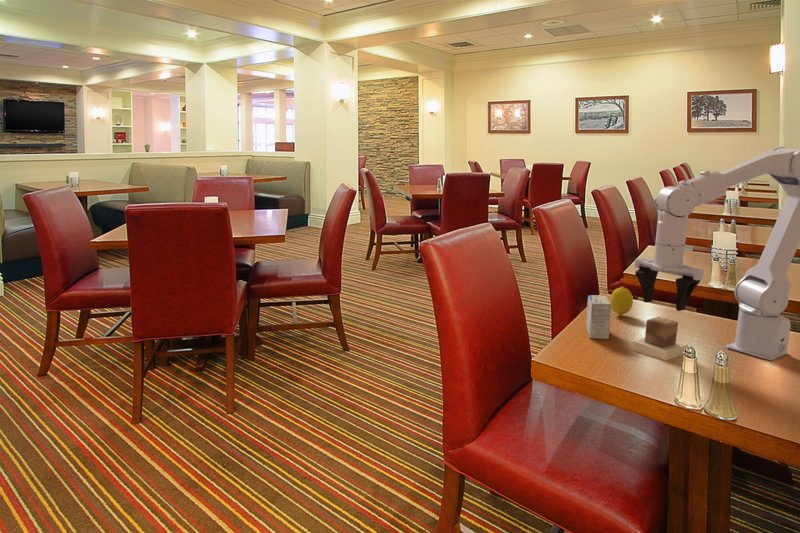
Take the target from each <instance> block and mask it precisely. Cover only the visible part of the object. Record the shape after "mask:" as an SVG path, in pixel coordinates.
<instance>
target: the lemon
mask: <svg viewBox="0 0 800 533" xmlns="http://www.w3.org/2000/svg"><path fill="white" fill-rule="evenodd" d="M609 302H610V304H611V311H613V312H614V313H616V314H617V315H618V316H619V317H622V316H623V315H624V314H627V313H629V312H630V310H631V309H632V307H633V302H634V299H633V295H632V292H631V291H630V290H629V289H628V288H625V286H620V287H618V288H615V289H614V290H613V291H612V293H611V295H610V300H609Z"/></svg>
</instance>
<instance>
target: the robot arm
mask: <svg viewBox="0 0 800 533" xmlns="http://www.w3.org/2000/svg"><path fill="white" fill-rule="evenodd" d="M699 174H700V175H698V176H695V177H693V178H691V179H688V180H681V181H678V185H677V186H672V185H670V186H665V187H663V188H662V189H661V190H660V192H658V193H657V194H656V198H654V199H653V205H654V207H655V209H656V211H657V224H656V235H655V244H654V252H653V253H654V254H653V255H654V256H653V259H647V258H642V257H640V258H635V259H634V268H637V269H638V270H635V271H634V272H635V276H636V277H637V281H638V283H639V285H640V288H641V292H642V297H643V298H642V299H643V302H644V303H650V302H652V301H653V299H654V294H655V293H654V290H655V289H654V288H655V284H656V280H657V276H658V274H659V273H664V274H668V275H674V276H677V277H678V278H675V284H676V285H675V286H676V304H675V310H676V311H677V312H681V311H684V310H686V308H687V304H688V302H689V300H690V299H689V298H690V297H691V295H692V293H693V292H694V290H695V289H696V287H697V286H698V284H700V282H701V281H702V280H703V279H704V274H705V273H704V272H705V271H704V269H702V268H701V269H700V268H696V267H693V266H689V265H686V264H684V260H685V259H684V258H685V249H686V248H685V247H686V240H687V239H686V238H687V231H688V221H689V215H690V214H692V212H694V210H695V208H697V207H699V206H702V205H705V204H707V203H709V202H711V201H713V200H717V199H719V198H721V197H723V196H725V195H726V193H727V190H728V188H731V187H733V186H735V185H736V186H737V185H738V184H742V183H744V182H747V181H750V180H753V179H755V178H757V177H761V176H764V175H769V176H770V177H771V178H772V179H773V180H774V181H776V182H777V183H778V184H779V185H780V186H781V187H782V189H783V190H784V192H785V194H786V197H785V198H786V199H785V201H784V203H783V206H782V207H781V210H780V212H779V214H778V217H777V219H776V221H775V223H774V226H773V228H772V231H771V233H770V235H769V237H768V239H767V241H766V244H765V246H764V249H763V251H762V253H761V256H760V258H759V260H758V262H757V264H755V265H754V266H751V267H750V268H749V269H747V270H746V272H745V273H744V275H743V277H742V278H741V279H740V280H739V281H738V282H737V283H736V285H735V287H734V291H733V292H734V293H733V294H734V298H735V299H736V300H737V301H738V307H739V308H738V315H737V316H738V317H737V323H736V324H737V325H736V332H735V337H734V338H735V339H734V342H732V343H729V344H727V345H725V347H726V348H727V349H729V350H730V349H731V350H734V351H736V352H741V353H744V354H747V355H750V356H755V357H757V358H761V359H763V360H768V361H773V360H775V359H778V358H780V357H782V356H785V355H788V354H789V351H788V347H789V341H790V340H789V339H790V332H791V321H790V319H789V318H788V317H786V316H782V315H781V313H782V312H784V310H785V309H786V308H787V306H788V304H789V299H790V298H789V296H790V295H789V294H790V293H789V292H790V290H791V287H792V284H791V280H790V279H789V277H788V275H787V272H788V270H789V267H790V265H791V263H792V261H793V259H794V257H795V254H796V252H797V250H798V247H799V245H800V147H784V146H779V147H775V148H772V149H771V150H767V151H763V152H762V153H760V154H759V155H756V156H754V157H751V158H750V159H748V160H745V161H744V162H741V163H739V164H737V165H735V166H733V167H731V168H728V169H727V170H723V171H722V172H719V171H716V170H706V169H705V170H702V171H700V172H699ZM679 276H680V277H679Z"/></svg>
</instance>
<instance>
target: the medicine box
mask: <svg viewBox="0 0 800 533" xmlns="http://www.w3.org/2000/svg"><path fill="white" fill-rule="evenodd" d="M586 305H587V306H586V320H585V321H586V322H585V329H586V331H587V334H588V337H589V339H595V340H609V339H610V331H611V330H610V328H611V316H612V315H611V314H612V308H611V304H610V300H609V298H608V297H607V296H606V295H599V294H598V295H597V294H595V295H594V294H592V295H591V294H590V295H589V294H588V296H587V304H586Z"/></svg>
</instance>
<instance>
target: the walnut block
mask: <svg viewBox="0 0 800 533" xmlns="http://www.w3.org/2000/svg"><path fill="white" fill-rule="evenodd" d="M678 326H679V322H678V321H675V320H672V319H669V318H666V317H662V316H656V317H652V318H649V319H647V320H646V325H645V336H644V337H645V342H647V343H650V344H653V345H656V346H659V347H662V348H665V347H668V346H671V345H674V344H676V341H677V336H678V335H677V333H678Z"/></svg>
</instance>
